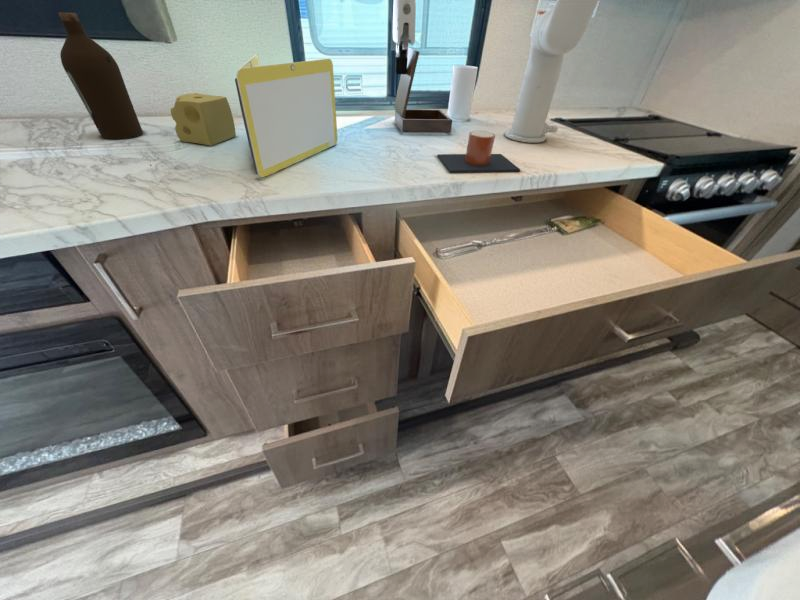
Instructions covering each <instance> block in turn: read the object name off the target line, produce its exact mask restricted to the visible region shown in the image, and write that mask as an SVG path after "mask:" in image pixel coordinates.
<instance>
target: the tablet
mask: <svg viewBox="0 0 800 600" xmlns="http://www.w3.org/2000/svg"><path fill="white" fill-rule="evenodd" d="M235 75H236V77H235V78H234V82H235V87H236V92H237V96H238V101H239V107H240V111H241V116H242V120H243V124H244V130H245V134H246V137H247V143H248V147H249V152H250V155H251V159H252V163H253V167H254V170H255V172H256V175H258V176H259V177H262V178H265V177H267V176H270V175H272V174H274V173H276V172H278V171H281V170H283V169H285V168H288V167H290V166H291V165H294V164H296V163H298V162H300V161H302V160H305V159H307V158H309V157H312V156H313V155H316V154H318V153H321V152H322V151H324V150H326V149H329V148H331V147H334V146H335V145H337V143H338V125H337V108H336V107H337V106H336V95H335V94H336V93H335V92H336V91H335V79H334V77H335V75H334V64H333V61H332V59H331V58H322V59H314V60H305V61H295V62H286V63H285V62H284V63H276V64H267V65H261V64H260V58H259V54H258V53H255V54H254V55H252V56H251V57H250V58H249V59H248V60H247V61H246V62H244V63H243V64H242V65H241V66H239V67H238V69H237V71H236V74H235Z"/></svg>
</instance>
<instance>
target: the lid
mask: <svg viewBox="0 0 800 600" xmlns="http://www.w3.org/2000/svg"><path fill="white" fill-rule="evenodd" d="M419 55H420V51H418V50H416V49H414V48H411V47H409V46H408V55H407V74H400V77H399V81H398V87H397V92H396V96H395V101H394V106H393V108H394V110H395V109H396V110H397V112H398V113H399V115H400V116H401V117H402V118H404V117H405V113H406V109H408V108H407V107H408V104H409V99H410V95H411V91H412V86H413V82H414V77H415V73H416V69H417V65H418V61H419Z"/></svg>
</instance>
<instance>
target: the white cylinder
mask: <svg viewBox="0 0 800 600" xmlns="http://www.w3.org/2000/svg"><path fill="white" fill-rule="evenodd" d="M477 75H478V66H474V65H464V64H456V65H455V64H454V65H453V67H452V74H451V81H450V91H449V99H448V106H447V114H446V115H447V116H448V117H449V118H450V119H452V120H459V121H465V120H466V121H467V120H470V118H471V111H472V107H473V106H472V105H473V98H474V94H475V87H476V80H477Z"/></svg>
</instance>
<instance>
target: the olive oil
mask: <svg viewBox="0 0 800 600" xmlns="http://www.w3.org/2000/svg"><path fill="white" fill-rule="evenodd" d="M57 14H58V16H59V18H60V19H61V21H60V22H61V24H62V26H63V28H64V30H65V31H66V38H65V40H64V42H63V45H62V48H61V49H60V55H59V56H60V61H61V66H62V68H63V70H64V71H65V74H66V75H67V77H68V79H69V81H70V82H71V84H72V86H73V87H74V89H75V91H76V92H77V93H76V94H77V95H78V96H79V98H80V100H81V102H82V104H83V105H84V108H85V109H86V111H87V113H88V114H89V117H90V119H91V120H92V122H93V123H94V125H95V127H96V129H97V131H98V133H99V135H100V136H101V138H103V139H105V140H106V139H107V140H125V139H126V140H127V139H132V138H136V137H139V136H142V135H143V134H144V131H143V128H142V126H141V124H140V121H139V118H138V115H137V113H136V110H135V108H134V105H133V102H132V100H131V97H130V95H129V91H128V89H127V85H126V83H125V80H124V78H123V75H122V72H121V69H120V67H119V65H118V63H117V61H116V59H114V57H113V56H112V54H111V53H110V52H109V51H108V50H107V49H105V48H104V47H103V46H101V45H100V44H99V43H97V42H96V41H94V40H93V39H92V38H91V37H89V36H88V35H87V34H86V31H85V30H84V29H85V28H84V26H83V25H82V22H81V21H80V19H79V17H78V14H77V13H76V12H57Z"/></svg>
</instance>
